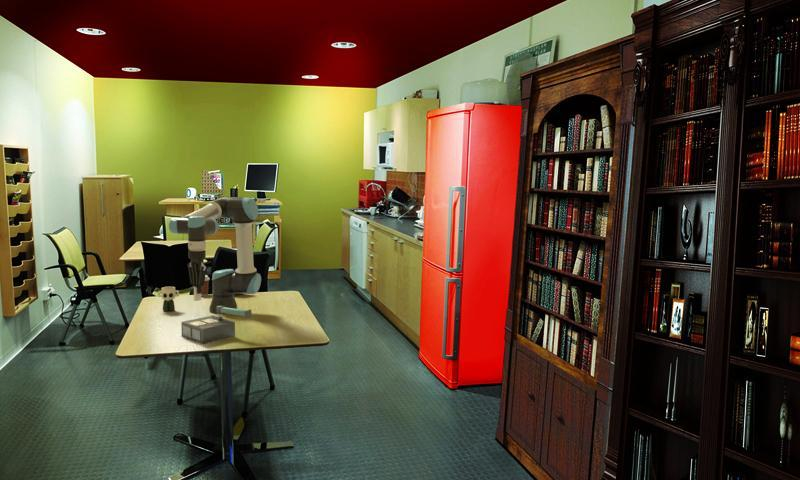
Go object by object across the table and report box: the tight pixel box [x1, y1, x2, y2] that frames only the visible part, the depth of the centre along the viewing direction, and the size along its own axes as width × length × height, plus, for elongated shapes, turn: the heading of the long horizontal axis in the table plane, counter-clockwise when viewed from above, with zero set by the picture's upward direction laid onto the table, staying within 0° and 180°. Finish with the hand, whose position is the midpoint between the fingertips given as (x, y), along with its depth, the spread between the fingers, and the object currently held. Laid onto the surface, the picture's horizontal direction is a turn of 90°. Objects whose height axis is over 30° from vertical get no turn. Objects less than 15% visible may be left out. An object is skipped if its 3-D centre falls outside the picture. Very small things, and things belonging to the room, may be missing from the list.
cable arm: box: [216, 306, 252, 319], centre depth 267 cm, size 19×3×3 cm, turn 66°
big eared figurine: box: [157, 286, 180, 312], centre depth 313 cm, size 11×7×13 cm, turn 107°
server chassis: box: [181, 313, 236, 345], centre depth 266 cm, size 18×17×10 cm
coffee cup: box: [201, 274, 211, 297], centre depth 356 cm, size 9×9×12 cm
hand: (197, 300), depth 261 cm, fingers closed
